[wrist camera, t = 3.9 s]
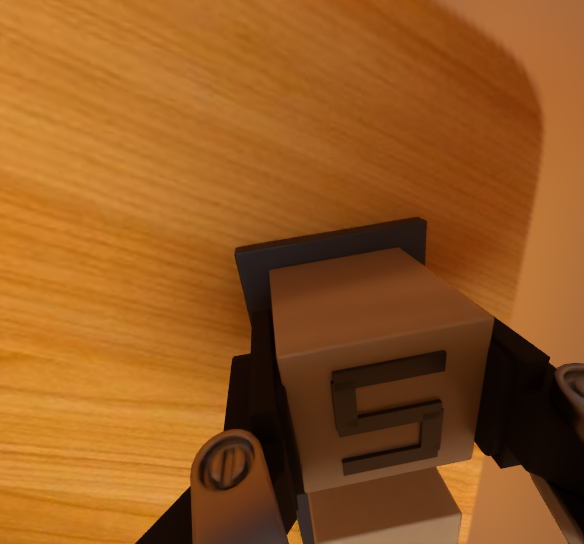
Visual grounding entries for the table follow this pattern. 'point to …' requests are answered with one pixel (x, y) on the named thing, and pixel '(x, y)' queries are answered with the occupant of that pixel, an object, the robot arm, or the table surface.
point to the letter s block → (377, 366)
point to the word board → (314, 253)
